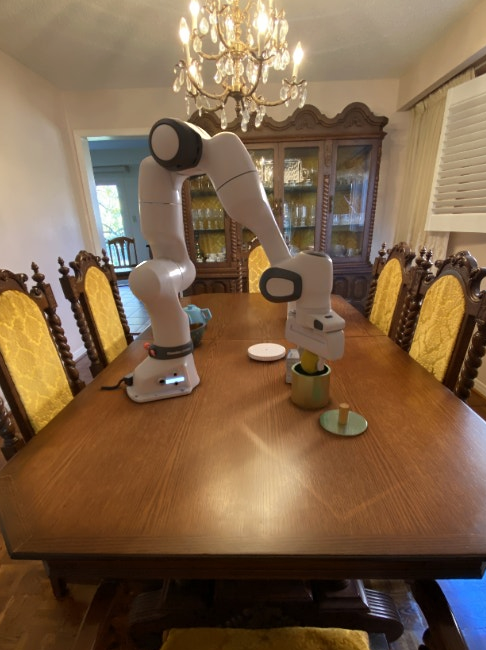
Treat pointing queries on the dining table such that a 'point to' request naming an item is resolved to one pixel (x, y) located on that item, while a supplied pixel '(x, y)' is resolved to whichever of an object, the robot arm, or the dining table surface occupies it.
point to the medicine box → (291, 363)
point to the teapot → (197, 314)
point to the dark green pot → (196, 333)
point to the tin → (310, 387)
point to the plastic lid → (266, 351)
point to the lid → (343, 422)
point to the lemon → (309, 361)
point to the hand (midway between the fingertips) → (310, 365)
